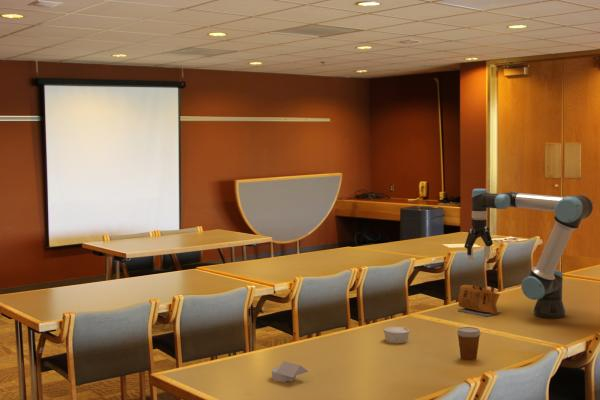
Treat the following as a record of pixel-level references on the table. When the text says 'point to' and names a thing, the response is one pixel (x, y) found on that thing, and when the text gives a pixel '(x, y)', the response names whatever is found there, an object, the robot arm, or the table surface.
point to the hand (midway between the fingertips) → (478, 259)
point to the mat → (476, 312)
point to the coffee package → (478, 299)
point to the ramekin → (396, 334)
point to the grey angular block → (287, 372)
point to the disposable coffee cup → (468, 342)
